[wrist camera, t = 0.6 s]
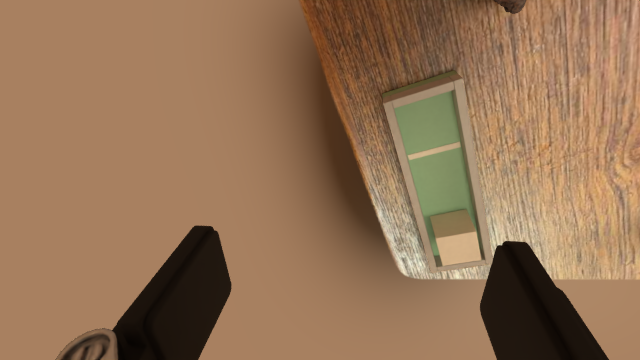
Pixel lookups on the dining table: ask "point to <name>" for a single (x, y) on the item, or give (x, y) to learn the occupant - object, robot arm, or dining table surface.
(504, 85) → the dining table surface
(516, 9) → the perforated stone tool
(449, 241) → the beige cube
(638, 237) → the dining table surface
